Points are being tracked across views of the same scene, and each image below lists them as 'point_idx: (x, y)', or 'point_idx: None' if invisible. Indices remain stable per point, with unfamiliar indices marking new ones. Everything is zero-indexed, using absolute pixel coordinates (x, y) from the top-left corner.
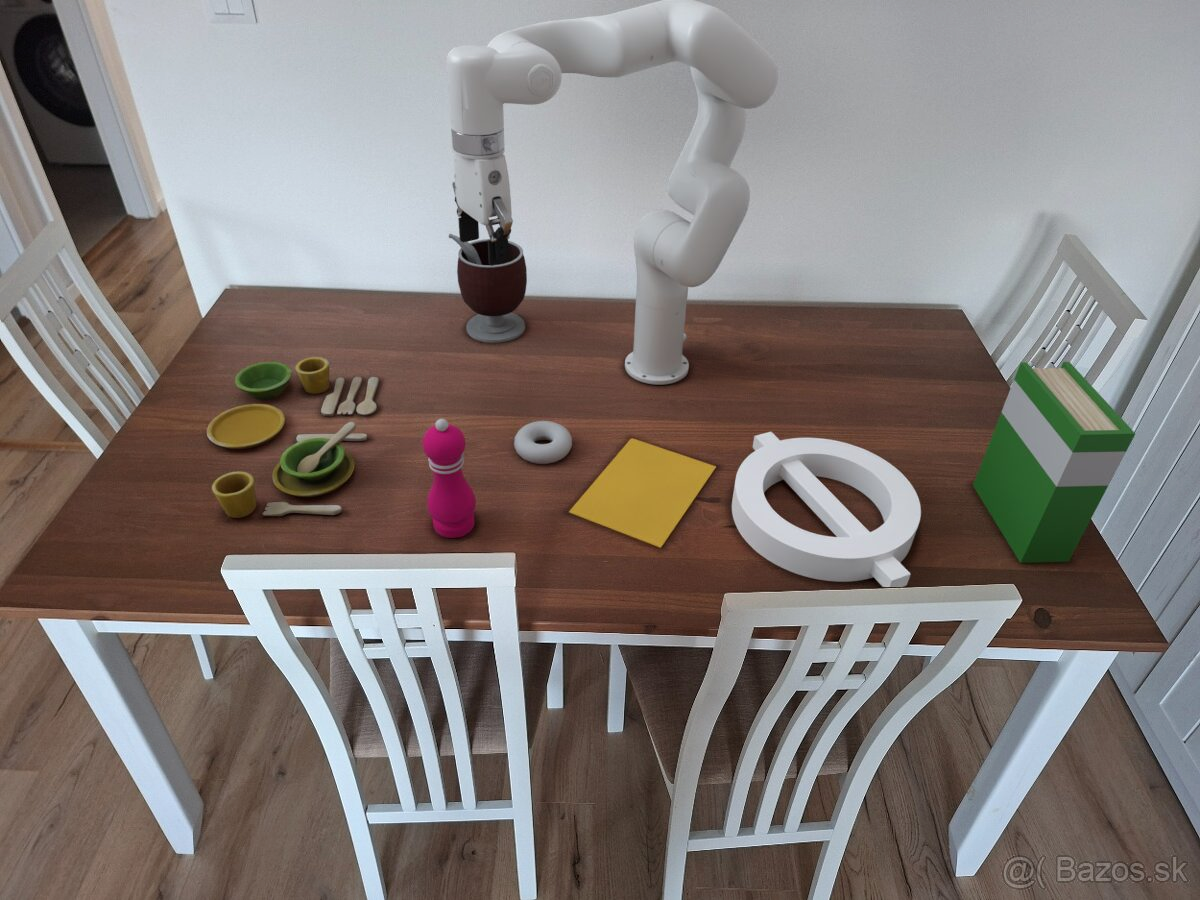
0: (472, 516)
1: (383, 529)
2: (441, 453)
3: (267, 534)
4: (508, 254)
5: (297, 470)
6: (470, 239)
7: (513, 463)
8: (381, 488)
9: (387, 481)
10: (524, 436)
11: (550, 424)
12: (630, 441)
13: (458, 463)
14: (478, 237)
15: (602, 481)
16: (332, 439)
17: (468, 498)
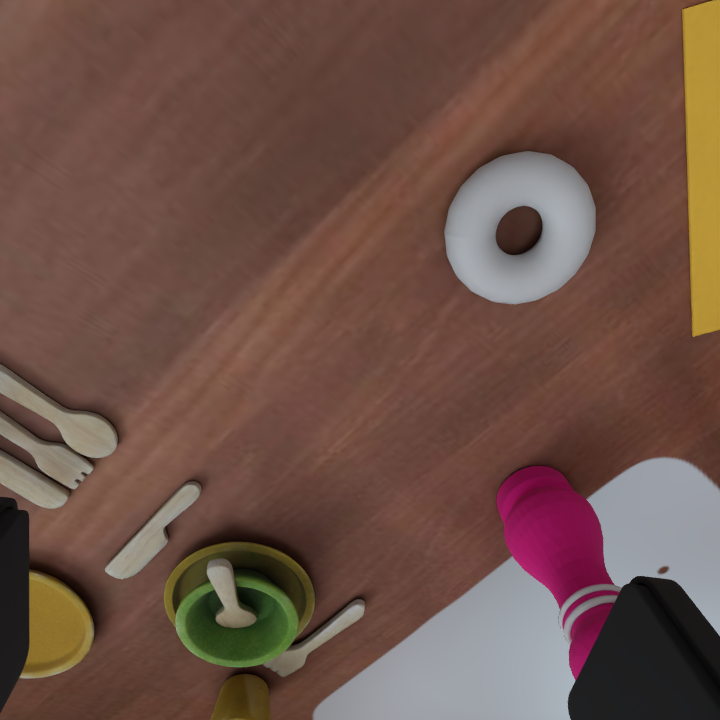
0: (568, 487)
1: (446, 572)
2: None
3: (323, 678)
4: (716, 632)
5: (232, 628)
6: (20, 597)
7: (495, 314)
8: (355, 530)
9: (346, 514)
10: (495, 276)
11: (514, 189)
12: (690, 26)
13: None
14: (20, 519)
15: (706, 214)
16: (221, 593)
17: (602, 537)
